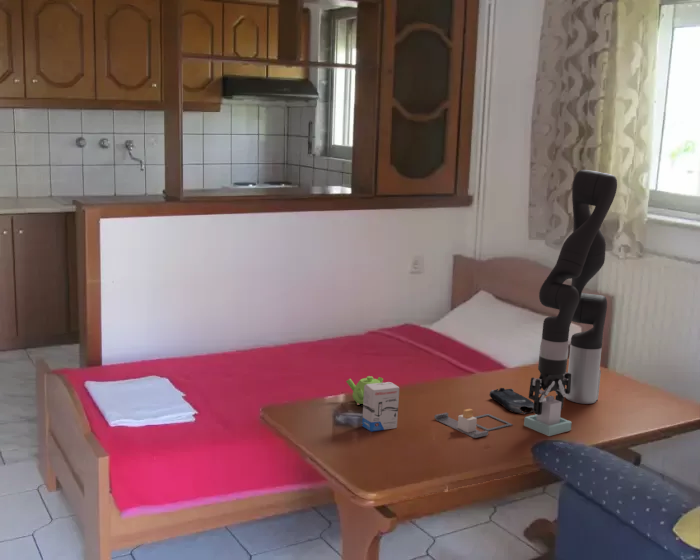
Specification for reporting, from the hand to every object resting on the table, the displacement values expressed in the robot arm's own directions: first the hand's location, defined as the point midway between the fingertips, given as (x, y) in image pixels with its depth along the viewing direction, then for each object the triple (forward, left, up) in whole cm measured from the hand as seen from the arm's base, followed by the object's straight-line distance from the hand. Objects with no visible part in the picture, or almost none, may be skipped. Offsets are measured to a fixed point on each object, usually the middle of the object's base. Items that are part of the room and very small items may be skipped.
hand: (548, 411), depth 224 cm
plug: (0, 0, -5) cm, 5 cm away
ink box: (+41, -23, -5) cm, 47 cm away
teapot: (+33, -40, -5) cm, 52 cm away
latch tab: (+22, -9, -4) cm, 24 cm away
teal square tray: (0, 0, -5) cm, 5 cm away
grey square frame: (+12, -11, -5) cm, 17 cm away
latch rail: (+22, -12, -5) cm, 25 cm away
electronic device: (-6, -18, -5) cm, 19 cm away
